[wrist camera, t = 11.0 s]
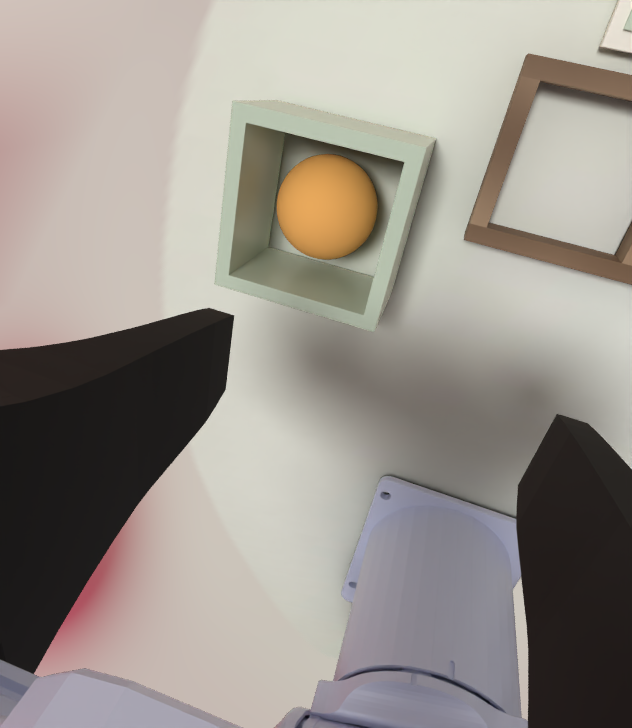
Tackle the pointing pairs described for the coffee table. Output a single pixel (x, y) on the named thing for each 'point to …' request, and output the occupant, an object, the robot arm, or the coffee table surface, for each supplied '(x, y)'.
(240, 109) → the sage open box
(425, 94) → the coffee table surface
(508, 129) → the rack
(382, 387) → the coffee table surface
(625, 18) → the card
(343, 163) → the orange ball
